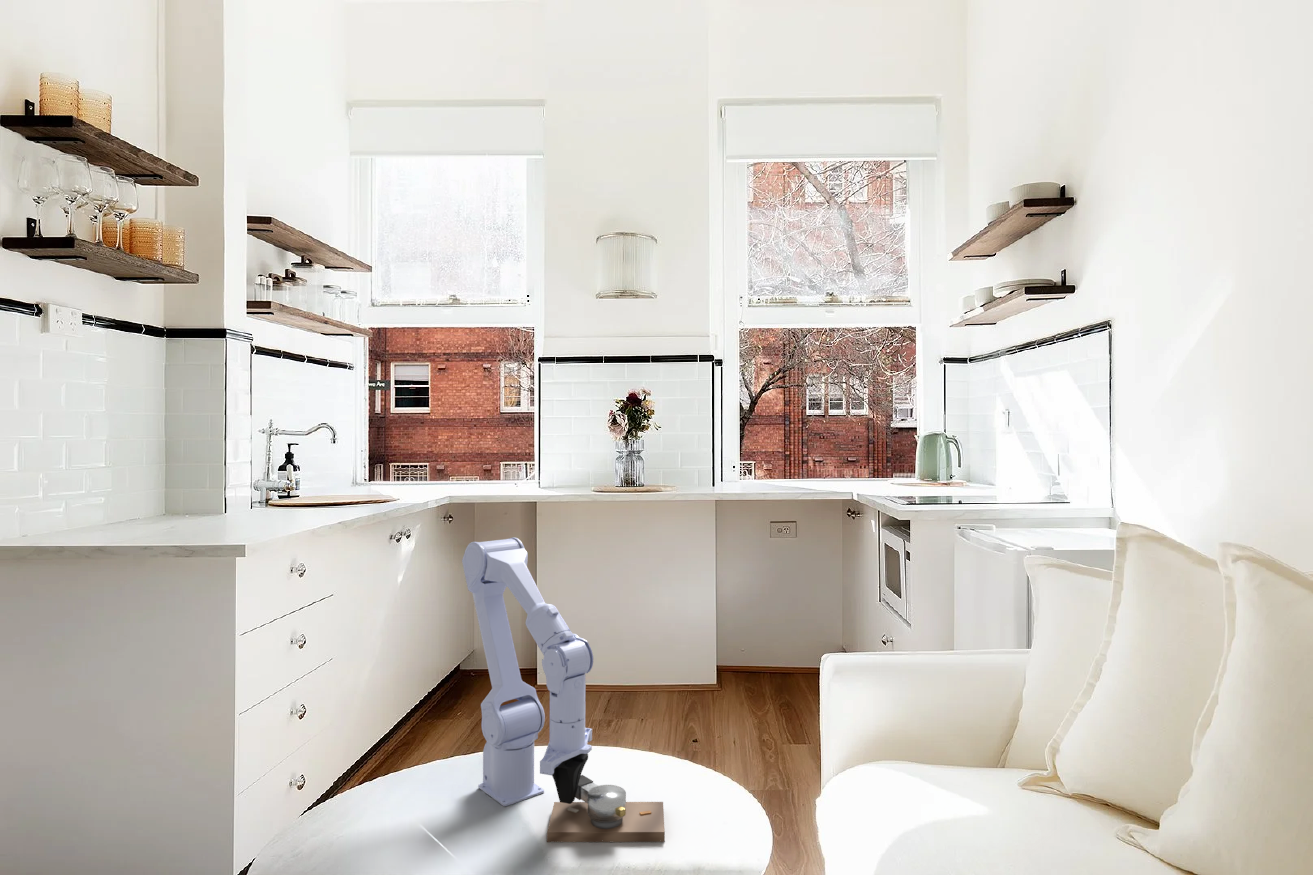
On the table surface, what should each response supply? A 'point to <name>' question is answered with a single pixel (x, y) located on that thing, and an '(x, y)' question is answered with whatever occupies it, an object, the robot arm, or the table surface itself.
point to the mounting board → (607, 824)
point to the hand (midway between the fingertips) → (567, 800)
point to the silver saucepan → (602, 800)
